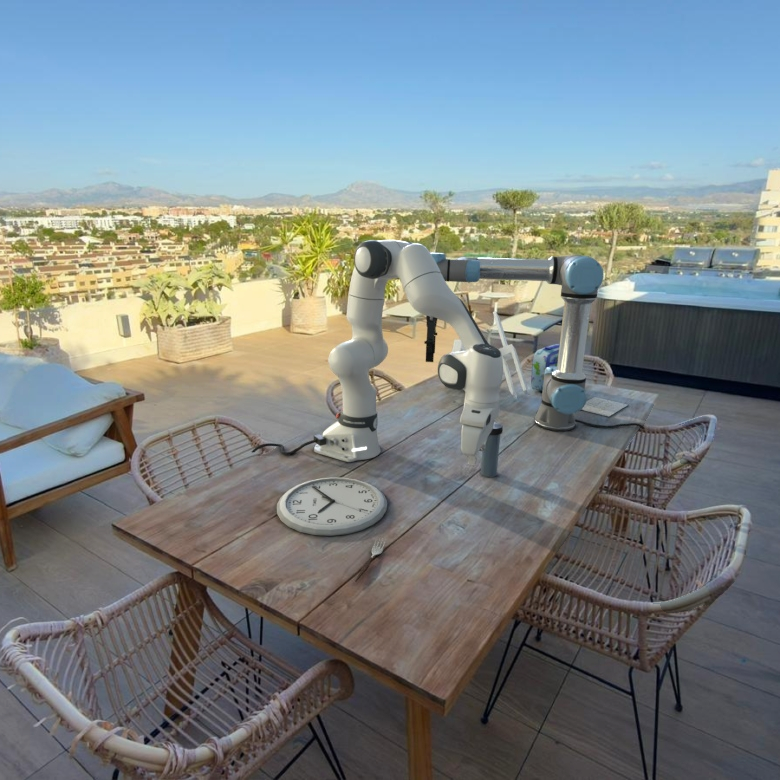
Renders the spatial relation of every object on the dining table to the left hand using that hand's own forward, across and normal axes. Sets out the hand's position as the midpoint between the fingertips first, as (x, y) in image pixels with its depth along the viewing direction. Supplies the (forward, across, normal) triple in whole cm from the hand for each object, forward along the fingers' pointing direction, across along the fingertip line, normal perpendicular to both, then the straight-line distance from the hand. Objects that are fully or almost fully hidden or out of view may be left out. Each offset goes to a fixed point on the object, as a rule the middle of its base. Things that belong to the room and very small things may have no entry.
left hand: (476, 457), depth 138 cm
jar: (+16, -22, -1) cm, 28 cm away
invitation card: (+17, -107, +29) cm, 112 cm away
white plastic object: (+18, -104, -24) cm, 108 cm away
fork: (+15, +34, -15) cm, 40 cm away
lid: (0, -23, -1) cm, 23 cm away
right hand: (-11, -50, -31) cm, 60 cm away
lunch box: (+18, -125, +6) cm, 127 cm away
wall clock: (+16, +15, -35) cm, 41 cm away
